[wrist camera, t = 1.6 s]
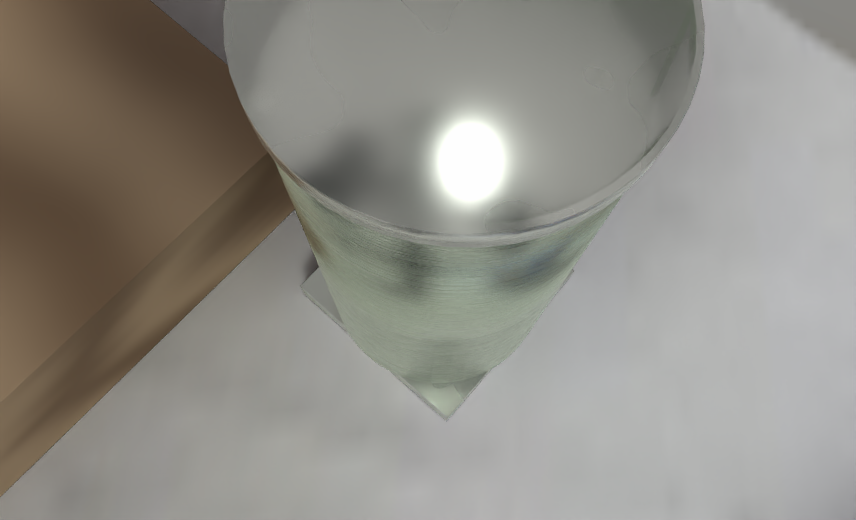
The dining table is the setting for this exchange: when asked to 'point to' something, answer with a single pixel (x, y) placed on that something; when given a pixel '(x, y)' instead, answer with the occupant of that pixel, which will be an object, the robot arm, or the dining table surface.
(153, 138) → the walnut block
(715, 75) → the dining table surface
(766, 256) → the dining table surface
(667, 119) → the green drinking glass
